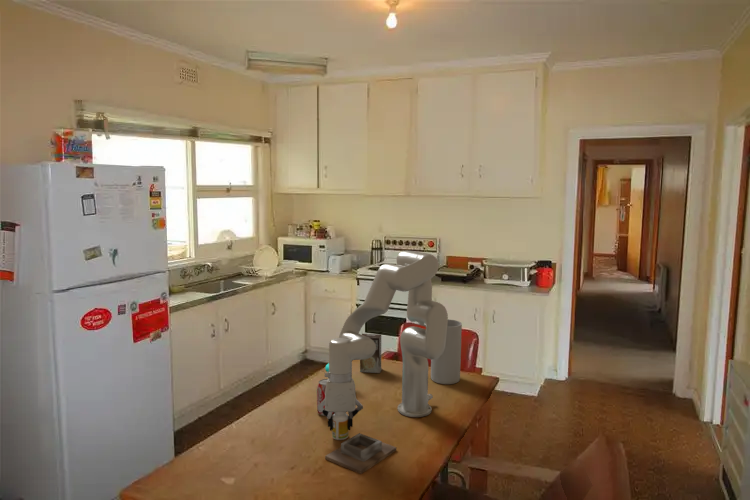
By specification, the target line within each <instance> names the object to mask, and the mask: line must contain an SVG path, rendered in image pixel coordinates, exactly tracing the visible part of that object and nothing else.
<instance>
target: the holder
mask: <svg viewBox="0 0 750 500" xmlns="http://www.w3.org/2000/svg"><path fill="white" fill-rule="evenodd" d="M396 451H397V447H396V446H394V445H391V444H388V443H386V442H384V441H383V442H382V441H381V440H380V439H377V438H373V437H371V436H368V435H365V434H363V433H361V432H359V433H357V434H355V435H353V436H351V437H350V438H348V439H347V440H346V439H345V441H343V442H342V443H340V447H338V448H337V449H335V450H332V451H331V452H330V453H327V454H326V455H325V456H324V459H325V460H326V461H329V462H331V463H333V464H336V465H339V466H341V467H342V468H346V469H348V470H351V471H353V472H355V473H358V474H360V475H362V474H363V473H365V472H366V471H368V470H369V469H371V468H372V467H374V466H375V465H377V464H379V462H381V461H383V460H384V459H386V458H387V457H389V456H390V455H391V454H394V452H396Z"/></svg>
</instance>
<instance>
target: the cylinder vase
mask: <svg viewBox="0 0 750 500" xmlns="http://www.w3.org/2000/svg"><path fill="white" fill-rule="evenodd" d="M462 325H463V324H462V322H461V321H459V320H454V319H448V323H447V334H446V343H445V349H444V352H443V354H442V355H441V357H440V358H438V359H435V360H431V359H430V379H431V380H432V381H433V382H434V383H437V384H440V385H453V384H456V383H459V382H460V380H461V361H462V360H461V359H462V358H461V356H462V332H463V331H462V330H463V328H462V327H463V326H462Z"/></svg>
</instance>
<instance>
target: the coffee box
mask: <svg viewBox="0 0 750 500" xmlns="http://www.w3.org/2000/svg"><path fill="white" fill-rule="evenodd" d="M361 335H363V336H366V337H368V338H370V339H372V340H373V341H374V343H375V345H376V350H375V353H374V354H373V356H371V357H370V358H368V359H364V360H359V372H360V373H371V374H372V373H373V374H374V373H375V374H380V373H381V372H382V334H378V333H377V334H375V333H361Z"/></svg>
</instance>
